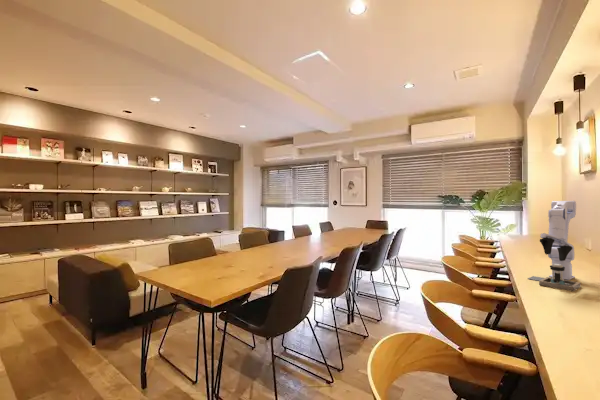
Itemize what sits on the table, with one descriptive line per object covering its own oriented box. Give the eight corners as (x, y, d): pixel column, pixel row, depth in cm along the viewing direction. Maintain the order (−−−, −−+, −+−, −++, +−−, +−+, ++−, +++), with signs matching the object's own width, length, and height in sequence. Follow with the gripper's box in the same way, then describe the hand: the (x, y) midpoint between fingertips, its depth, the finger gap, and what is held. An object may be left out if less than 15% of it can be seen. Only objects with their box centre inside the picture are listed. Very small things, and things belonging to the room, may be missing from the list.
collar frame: (547, 281, 140) (547, 277, 140) (580, 287, 130) (580, 282, 130) (539, 285, 134) (539, 280, 134) (573, 291, 124) (573, 286, 124)
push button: (569, 286, 131) (569, 264, 131) (569, 288, 128) (568, 266, 128) (550, 283, 136) (550, 262, 136) (549, 285, 132) (549, 264, 132)
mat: (533, 276, 148) (533, 276, 148) (550, 279, 143) (550, 278, 143) (527, 279, 144) (527, 278, 144) (545, 282, 138) (545, 281, 138)
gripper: (551, 223, 133) (549, 249, 128) (578, 235, 133) (578, 262, 129) (537, 226, 140) (535, 252, 135) (563, 238, 140) (562, 263, 135)
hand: (555, 257), depth 132 cm, fingers open, 7 cm apart
